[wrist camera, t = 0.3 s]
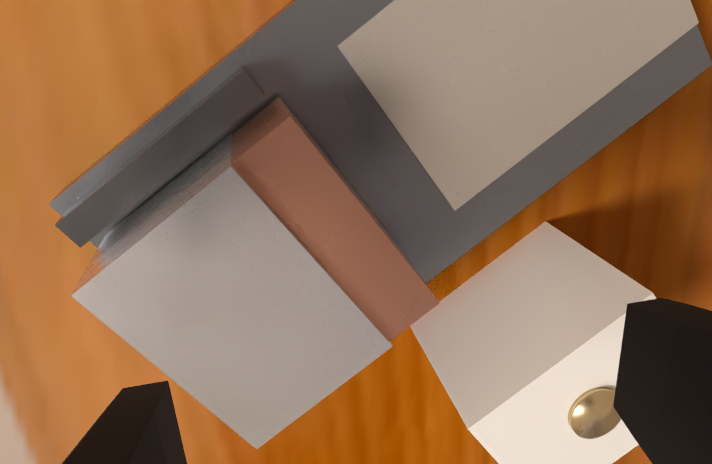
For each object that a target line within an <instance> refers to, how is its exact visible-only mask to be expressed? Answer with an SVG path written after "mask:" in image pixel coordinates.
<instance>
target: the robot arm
mask: <svg viewBox="0 0 712 464" xmlns="http://www.w3.org/2000/svg"><path fill="white" fill-rule="evenodd" d="M613 407H614V408H615V410H616V411H617V413H618V415H619V416H620V418H621V419H622V421H623V422H624V424H625V425H626V427H627V428H628V430H629V431H630V433H631V434H632V436H633V437H634V439H635V440H636V441H637V443H638V444H639V446H640V447H641V448H642V450H643V451H644V452H645V454H646V455H647V457H648V458H649V459H650V461H651V462H652V463H653V464H712V311H709V310H706V309H702V308H699V307H695V306H692V305H688V304H684V303H681V302H677V301H672V300H668V299H663V298H658V299H652V300H646V301H640V302H634V303H628V304H627V309H626V316H625V324H624V331H623V338H622V345H621V353H620V360H619V367H618V374H617V382H616V389H615V396H614V404H613ZM62 464H187V462H186V458H185V453H184V449H183V444H182V440H181V436H180V431H179V427H178V422H177V418H176V414H175V409H174V405H173V400H172V396H171V392H170V387H169V383H168V381H164V382H158V383H152V384H146V385H140V386H134V387H128V388H123V389H122V390H121V391H120V393H119V394H118V395H117V396H116V397H115V399H114V400H113V401H112V402H111V403H110V405H109V406H108V407H107V408H106V409H105V411H104V412H103V413H102V414H101V416H100V417H99V418H98V419H97V421H96V422H95V423H94V424H93V426H92V427H91V428H90V429H89V431H88V432H87V433H86V434H85V436H84V437H83V438H82V439H81V441H80V442H79V443H78V444H77V446H76V447H75V448H74V449H73V451H72V452H71V453H70V454H69V456H68V457H67V458H66V459H65V460H64V462H63V463H62Z"/></svg>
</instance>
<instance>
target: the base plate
mask: <svg viewBox="0 0 712 464" xmlns="http://www.w3.org/2000/svg"><path fill="white" fill-rule="evenodd" d="M698 23H699V21H698V19H697V16H696V13H695V11H694V8H693V6H692V3H691V0H292V1H291V2H290V3H289V4H288V5H286V6H285V7H284V8H283V9H282V10H280V11H279V12H278V13H277V14H275V15H274V16H273V17H272V18H271V19H269V20H268V21H267V22H266V23H265V24H263V25H262V26H261V27H260V28H258V29H257V30H256V31H255V32H254V33H252V34H251V35H250V36H249V37H248V38H246V39H245V40H244V41H243V42H241V43H240V44H239V45H238V46H237V47H235V48H234V49H233V50H232V51H231V52H229V53H228V54H227V55H226V56H224V57H223V58H222V59H221V60H220V61H218V62H217V63H216V64H215V65H214V66H212V67H211V68H210V69H209V70H207V71H206V72H205V73H204V74H203V75H201V76H200V77H199V78H198V79H197V80H195V81H194V82H193V83H192V84H190V85H189V86H188V87H187V88H186V89H184V90H183V91H182V92H181V93H180V94H178V95H177V96H176V97H175V98H174V99H172V100H171V101H170V102H169V103H167V104H166V105H165V106H164V107H163V108H161V109H160V110H159V111H158V112H157V113H155V114H154V115H153V116H152V117H150V118H149V119H148V120H147V121H146V122H144V123H143V124H142V125H141V126H140V127H138V128H137V129H136V130H135V131H133V132H132V133H131V134H130V135H129V136H127V137H126V138H125V139H124V140H123V141H121V142H120V143H119V144H118V145H116V146H115V147H114V148H113V149H112V150H110V151H109V152H108V153H107V154H106V155H104V156H103V157H102V158H101V159H99V160H98V161H97V162H96V163H95V164H93V165H92V166H91V167H90V168H89V169H87V170H86V171H85V172H84V173H82V174H81V175H80V176H79V177H78V178H76V179H75V180H74V181H73V182H72V183H70V184H69V185H68V186H67V187H66V188H64V189H63V190H62V191H61V192H60V193H59V194H58V195H57V196H56V197H55V198H54V199H53V200H52V201H51V202H50V203H49V205H50V206H51V207H52V208H54V209H55V210H56V211H57V212H58V213H59V214H60V215H61V216H62V217H61V218H60V219H59V221H58V222H57V223H56V224H55V226H56V227H58V228H59V229H60V230H61V231H62V232H63V233H64V234H65V235H67V236H68V237H69V238H70V239H71V240H72V241H73V242H75V243H76V244H77V245H78V246H79V247H80V248H81V247H82V246H83V245H84V244H85V243H87V242H88V241H91V242H92V243H93V244H94V245H95V246H96V247H97V248H98V247H99V246H100V244H101V242H102V240H103V239H104V237H105V235H106V234H108V233H109V232H110V231H111V230H113V229H114V228H115V227H116V226H117V225H119V224H120V223H121V222H122V221H124V220H125V219H126V218H127V217H129V216H130V215H131V214H132V213H134V212H135V211H136V210H137V209H138V208H140V207H141V206H142V205H143V204H145V203H146V202H147V201H148V200H150V199H151V198H152V197H153V196H154V195H156V194H157V193H158V192H159V191H161V190H162V189H163V188H164V187H166V186H167V185H168V184H169V183H171V182H172V181H173V180H174V179H175V178H177V177H178V176H179V175H180V174H182V173H183V172H184V171H185V170H187V169H188V168H189V167H190V166H191V165H193V164H194V163H195V162H196V161H198V160H199V159H200V158H201V157H203V156H204V155H205V154H206V153H208V152H209V151H210V150H211V149H212V148H214V147H215V146H216V145H217V144H219V143H220V142H221V141H222V140H224V139H225V138H226V137H227V136H228V135H230V134H231V133H232V134H233V133H235V132H236V131H237V130H238V129H239V128H241V127H242V126H243V125H244V124H246V123H247V122H248V121H249V120H251V119H252V118H253V117H254V116H255V115H257V114H258V113H259V112H260V111H262V110H263V109H264V108H265V107H267V106H268V105H269V104H270V103H272V102H273V101H274V100H275V99H276V98H278V97H280V98H281V99H282V100H283V102H284V103H285V104H286V105H287V107H288V108H289V109H290V110H291V112H292V113H293V114H294V115H295V117H296V118H297V119H298V120H299V122H300V123H301V124H302V125H303V127H304V128H305V129H306V130H307V132H308V133H309V134H310V136H311V137H312V138H313V139H314V141H315V142H316V143H317V144H318V146H319V147H320V148H321V149H322V151H323V152H324V153H325V154H326V156H327V157H328V158H329V159H330V161H331V162H332V163H333V164H334V166H335V167H336V168H337V169H338V171H339V172H340V173H341V174H342V176H343V177H344V178H345V179H346V181H347V182H348V183H349V184H350V186H351V187H352V188H353V189H354V191H355V192H356V193H357V194H358V196H359V197H360V198H361V199H362V201H363V202H364V203H365V205H366V206H367V207H368V208H369V210H370V211H371V212H372V213H373V215H374V216H375V217H376V218H377V220H378V221H379V222H380V223H381V225H382V226H383V227H384V228H385V230H386V231H387V232H388V233H389V235H390V236H391V237H392V238H393V240H394V241H395V242H396V243H397V245H398V246H399V247H400V248H401V250H402V251H403V252H404V253H405V255H406V256H407V257H408V259H409V260H410V262H411V263H412V264H413V266H414V267H415V269H416V270H417V271H418V273H419V274H420V276H421V277H422V278H423V280H424V281H425V283H427V282H428V281H430V280H431V279H432V278H434V277H435V276H436V275H438V274H439V273H440V272H442V271H443V270H444V269H445V268H447V267H448V266H449V265H451V264H452V263H453V262H455V261H456V260H457V259H459V258H460V257H461V256H462V255H464V254H465V253H466V252H468V251H469V250H470V249H472V248H473V247H474V246H476V245H477V244H478V243H480V242H481V241H482V240H483V239H485V238H486V237H487V236H489V235H490V234H491V233H493V232H494V231H495V230H497V229H498V228H499V227H500V226H502V225H503V224H504V223H506V222H507V221H508V220H510V219H511V218H512V217H514V216H515V215H516V214H518V213H519V212H520V211H521V210H523V209H524V208H525V207H527V206H528V205H529V204H531V203H532V202H533V201H535V200H536V199H537V198H538V197H540V196H541V195H542V194H544V193H545V192H546V191H548V190H549V189H550V188H552V187H553V186H554V185H556V184H557V183H558V182H559V181H561V180H562V179H563V178H565V177H566V176H567V175H569V174H570V173H571V172H573V171H574V170H575V169H576V168H578V167H579V166H580V165H582V164H583V163H584V162H586V161H587V160H588V159H590V158H591V157H592V156H593V155H595V154H596V153H597V152H599V151H600V150H601V149H603V148H604V147H605V146H607V145H608V144H609V143H611V142H612V141H613V140H614V139H616V138H617V137H618V136H620V135H621V134H622V133H624V132H625V131H626V130H628V129H629V128H630V127H631V126H633V125H634V124H635V123H637V122H638V121H639V120H641V119H642V118H643V117H645V116H646V115H647V114H649V113H650V112H651V111H652V110H654V109H655V108H656V107H658V106H659V105H660V104H662V103H663V102H664V101H666V100H667V99H668V98H669V97H671V96H672V95H673V94H675V93H676V92H677V91H679V90H680V89H681V88H683V87H684V86H685V85H687V84H688V83H689V82H690V81H692V80H693V79H694V78H696V77H697V76H698V75H700V74H701V73H702V72H704V71H705V70H706V69H707V68H709V67H710V66H711V65H712V61H711V59H710V56H709V54H708V51H707V48H706V46H705V43H704V41H703V38H702V36H701V33H700V30H699V28H698V25H697V24H698Z"/></svg>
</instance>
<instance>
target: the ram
mask: <svg viewBox="0 0 712 464" xmlns="http://www.w3.org/2000/svg"><path fill="white" fill-rule="evenodd" d="M71 296H72V297H73V298H74V299H75V300H77V301H78V302H79V303H80V304H81V305H83V306H84V307H85V308H86V309H88V310H89V311H90V312H91V313H92V314H94V315H95V316H96V317H97V318H98V319H100V320H101V321H102V322H103V323H104V324H106V325H107V326H108V327H109V328H111V329H112V330H113V331H114V332H115V333H117V334H118V335H119V336H120V337H121V338H123V339H124V340H125V341H126V342H127V343H129V344H130V345H131V346H132V347H133V348H135V349H136V350H137V351H138V352H140V353H141V354H142V355H143V356H144V357H146V358H147V359H148V360H149V361H150V362H152V363H153V364H154V365H155V366H156V367H158V368H159V369H160V370H161V371H163V372H164V373H165V374H166V375H167V376H169V377H170V378H171V379H172V380H173V381H175V382H176V383H177V384H178V385H179V386H181V387H182V388H183V389H184V390H186V391H187V392H188V393H189V394H190V395H192V396H193V397H194V398H195V399H196V400H198V401H199V402H200V403H201V404H202V405H204V406H205V407H206V408H207V409H209V410H210V411H211V412H212V413H213V414H215V415H216V416H217V417H218V418H219V419H221V420H222V421H223V422H224V423H225V424H227V425H228V426H229V427H230V428H232V429H233V430H234V431H235V432H236V433H238V434H239V435H240V436H241V437H242V438H244V439H245V440H246V441H247V442H248V443H250V444H251V445H252V446H253V447H255V448H256V449H258V448H259V447H260V446H262V445H263V444H264V443H266V442H267V441H268V440H270V439H271V438H272V437H274V436H275V435H276V434H277V433H279V432H280V431H281V430H283V429H284V428H285V427H287V426H288V425H289V424H291V423H292V422H293V421H295V420H296V419H297V418H299V417H300V416H301V415H303V414H304V413H305V412H307V411H308V410H309V409H310V408H312V407H313V406H314V405H316V404H317V403H318V402H320V401H321V400H322V399H324V398H325V397H326V396H328V395H329V394H330V393H332V392H333V391H334V390H336V389H337V388H338V387H340V386H341V385H342V384H343V383H345V382H346V381H347V380H349V379H350V378H351V377H353V376H354V375H355V374H357V373H358V372H359V371H361V370H362V369H363V368H365V367H366V366H367V365H369V364H370V363H371V362H373V361H374V360H375V359H376V358H378V357H379V356H380V355H382V354H383V353H384V352H386V351H387V350H388V349H390V348H391V347H392V344H391V342H390V341H391V340H392V339H393V338H395V337H396V336H397V335H398V334H400V333H401V332H402V331H404V330H405V329H406V328H408V327H409V326H410V325H412V324H413V323H414V322H416V321H417V320H418V319H420V318H421V317H422V316H424V315H425V314H426V313H427V312H429V311H430V310H431V309H433V308H434V307H435V306H437V305H438V304H439V303H440V302H439V301H438V299H437V298H436V297H435V295H434V294H433V292H432V291H431V290H430V288H429V287H428V285H427V284H426V283H425V281H424V280H423V278H422V277H421V276H420V274H419V273H418V271H417V270H416V269H415V267H414V266H413V264H412V263H411V262H410V260H409V259H408V257H407V256H406V255H405V253H404V252H403V251H402V250H401V248H400V247H399V246H398V245H397V243H396V242H395V241H394V240H393V238H392V237H391V236H390V235H389V233H388V232H387V231H386V230H385V228H384V227H383V226H382V225H381V223H380V222H379V221H378V220H377V218H376V217H375V216H374V215H373V213H372V212H371V211H370V210H369V208H368V207H367V206H366V205H365V203H364V202H363V201H362V199H361V198H360V197H359V196H358V194H357V193H356V192H355V191H354V189H353V188H352V187H351V186H350V184H349V183H348V182H347V181H346V179H345V178H344V177H343V176H342V174H341V173H340V172H339V171H338V169H337V168H336V167H335V166H334V164H333V163H332V162H331V161H330V159H329V158H328V157H327V156H326V154H325V153H324V152H323V151H322V149H321V148H320V147H319V146H318V144H317V143H316V142H315V141H314V139H313V138H312V137H311V136H310V134H309V133H308V132H307V130H306V129H305V128H304V127H303V125H302V124H301V123H300V122H299V120H298V119H297V118H296V117H295V115H294V114H293V113H292V112H291V110H290V109H289V108H288V107H287V105H286V104H285V103H284V102H283V100H282V99H281V98H280V97H278V98H276V99H275V100H274V101H273V102H272V103H270V104H269V105H268V106H267V107H265V108H264V109H263V110H262V111H260V112H259V113H258V114H257V115H255V116H254V117H253V118H252V119H251V120H249V121H248V122H247V123H246V124H244V125H243V126H242V127H241V128H239V129H238V130H237V131H236V132H235V133H233V134H232V133H231V134H230V135H228V136H227V137H226V138H225V139H224V140H222V141H221V142H220V143H219V144H217V145H216V146H215V147H214V148H212V149H211V150H210V151H209V152H208V153H206V154H205V155H204V156H203V157H201V158H200V159H199V160H198V161H196V162H195V163H194V164H193V165H191V166H190V167H189V168H188V169H187V170H185V171H184V172H183V173H182V174H180V175H179V176H178V177H177V178H175V179H174V180H173V181H172V182H171V183H169V184H168V185H167V186H166V187H164V188H163V189H162V190H161V191H159V192H158V193H157V194H156V195H154V196H153V197H152V198H151V199H150V200H148V201H147V202H146V203H145V204H143V205H142V206H141V207H140V208H138V209H137V210H136V211H135V212H134V213H132V214H131V215H130V216H129V217H127V218H126V219H125V220H124V221H122V222H121V223H120V224H119V225H117V226H116V227H115V228H114V229H113V230H111V231H110V232H109V233H108V234H106V235H105V237H104V239H103V240H102V242H101V244H100V246H99V247H98V249H97V251H96V253H95V254H94V256H93V258H92V260H91V261H90V263H89V265H88V267H87V268H86V270H85V272H84V274H83V275H82V277H81V279H80V281H79V282H78V284H77V286H76V288H75V289H74V291H73V293H72V295H71Z"/></svg>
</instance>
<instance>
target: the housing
mask: <svg viewBox="0 0 712 464" xmlns="http://www.w3.org/2000/svg"><path fill="white" fill-rule="evenodd" d="M652 299H656V297H655V295H654V294H653V292H651V291H650V290H648V289H647V288H645V287H644V286H642V285H641V284H639V283H638V282H636V281H635V280H633V279H632V278H630V277H629V276H627V275H626V274H624V273H623V272H621V271H620V270H618V269H617V268H615V267H614V266H612V265H611V264H609V263H608V262H606V261H605V260H603V259H602V258H600V257H599V256H597V255H596V254H594V253H593V252H591V251H590V250H588V249H587V248H585V247H584V246H582V245H581V244H579V243H578V242H576V241H575V240H573V239H572V238H570V237H569V236H567V235H566V234H564V233H563V232H561V231H560V230H558V229H557V228H555V227H554V226H552V225H551V224H549V223H548V222H546V221H545V222H544V223H542V224H541V225H540V226H539V227H537V228H536V229H535V230H533V231H532V232H531V233H529V234H528V235H527V236H525V237H524V238H523V239H521V240H520V241H519V242H517V243H516V244H515V245H513V246H512V247H511V248H510V249H508V250H507V251H506V252H504V253H503V254H502V255H500V256H499V257H498V258H496V259H495V260H494V261H492V262H491V263H490V264H488V265H487V266H486V267H484V268H483V269H482V270H481V271H479V272H478V273H477V274H475V275H474V276H473V277H471V278H470V279H469V280H467V281H466V282H465V283H463V284H462V285H461V286H459V287H458V288H457V289H456V290H454V291H453V292H452V293H450V294H449V295H448V296H446V297H445V298H444V299H442V300H441V301H440V303H439V304H438V305H437V306H435V307H434V308H433V309H431V310H430V311H429V312H427V313H426V314H425V315H424V316H422V317H421V318H420V319H418V320H417V321H416V322H414V323H413V324H412V325H410V327H411V329H412V331H413V333H414V334H415V336H416V338H417V340H418V342H419V343H420V345H421V347H422V349H423V350H424V352H425V354H426V356H427V358H428V359H429V361H430V363H431V365H432V366H433V368H434V370H435V372H436V374H437V375H438V377H439V379H440V381H441V382H442V384H443V386H444V388H445V390H446V391H447V393H448V395H449V397H450V398H451V400H452V402H453V404H454V405H455V407H456V409H457V411H458V413H459V414H460V416H461V418H462V420H463V421H464V423H465V425H466V427H467V429H468V430H469V431H470V432H471V433H472V434H473V435H474V437H475V438H476V439H477V440H478V441H479V442H480V443H481V444H482V445H483V447H484V448H485V449H486V450H487V451H488V452H489V453H490V454H491V455H492V457H493V458H494V459H495V460H496V461H497V462H498V463H499V464H612V463H613V462H615V461H616V460H618V459H619V458H620V457H622V456H623V455H625V454H626V453H627V452H629V451H630V450H632V449H633V448H634V447H636V446H637V445H639V444H638V443H637V441H636V440H635V439H634V437H633V436H632V434H631V433H630V431H629V430H628V428H627V427H626V425H625V424H624V422H623V421H622V419H621V418H620V416H619V415H618V413H617V411H616V410H615V408H614V407H613V404H614V396H615V389H616V382H617V374H618V367H619V360H620V353H621V345H622V338H623V331H624V324H625V316H626V309H627V304H628V303H634V302H640V301H646V300H652Z"/></svg>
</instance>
